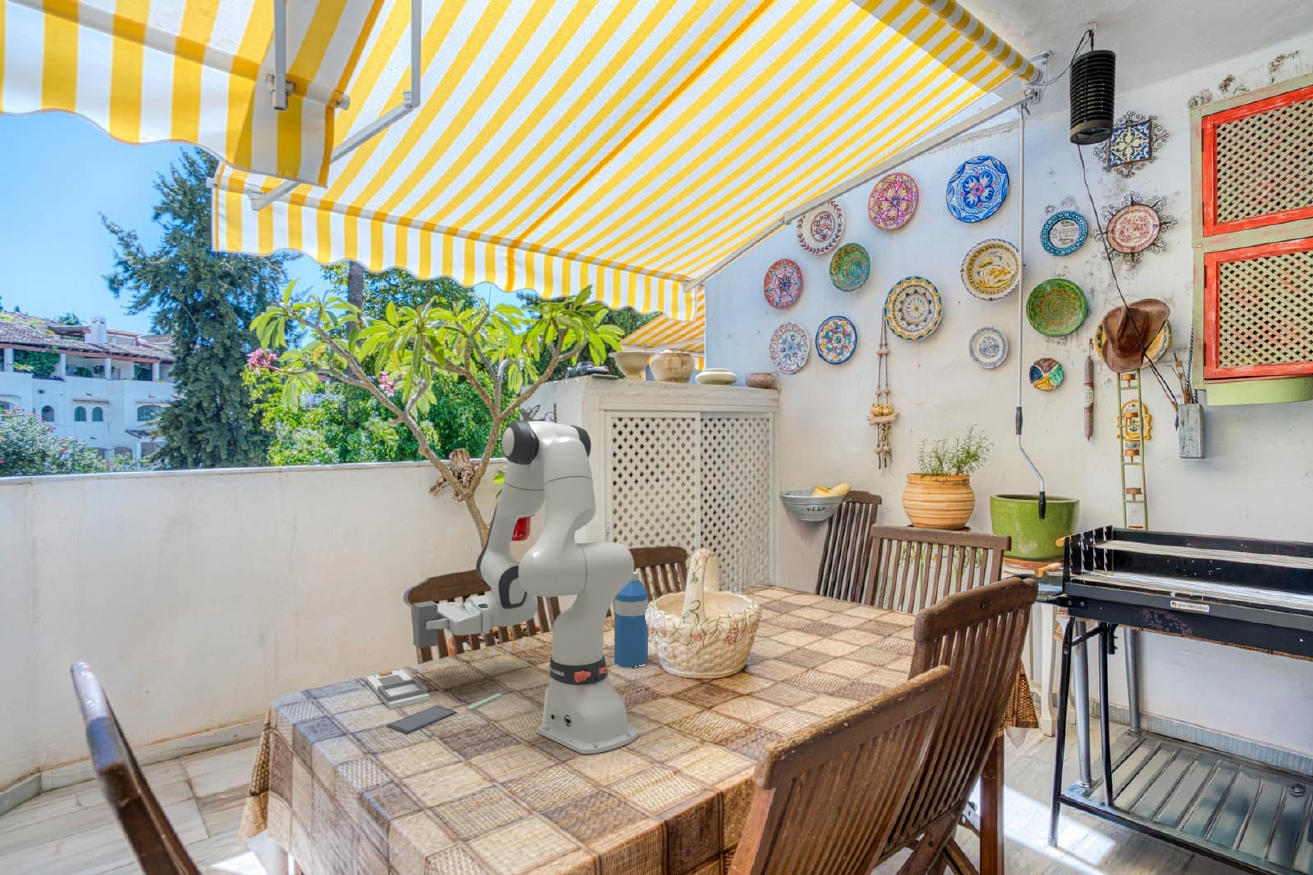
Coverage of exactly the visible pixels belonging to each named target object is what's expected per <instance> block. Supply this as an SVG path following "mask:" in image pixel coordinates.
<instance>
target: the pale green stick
mask: <svg viewBox="0 0 1313 875" xmlns="http://www.w3.org/2000/svg"><path fill="white" fill-rule="evenodd" d="M501 698H503V694H502V693H496V694H494V695H492V696H489V697H487V698H485V699H483V700H480V701H478V702H476V703H473V704H471V705H469V706H467V707H465V710H466V711H468V712H472V711H473V710H476V709H478V708H481V707H483V706H485V705H487V704H489V703H491V701H492V702H493V700H494V701H496V700H499V699H501Z"/></svg>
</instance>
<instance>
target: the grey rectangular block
mask: <svg viewBox="0 0 1313 875" xmlns="http://www.w3.org/2000/svg"><path fill="white" fill-rule="evenodd" d="M412 604H413V608H412V610H413V611H412V613H413V614H412V615H413V616H412V619H413V620H412V622H413V624H412V625H413V626H412V628H413V629H412V630H413V631H412V632H413V633H412V639H413V640H412V641H413V642H412V644H413V646H414V647H416V648H417V649H419V650H421V649H425V648H430V647H437V646H438V640H439V636H438V634H439V632H438V630H439V629H429V630H428V629H426V628H425V621H429V620H433V621H434V620H438V604H439V603H436V602H435V601H433V600H428V601H422V602H415V603H412Z"/></svg>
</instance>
